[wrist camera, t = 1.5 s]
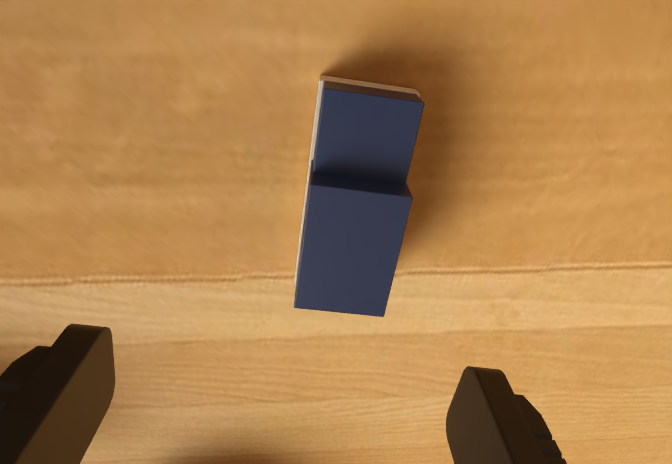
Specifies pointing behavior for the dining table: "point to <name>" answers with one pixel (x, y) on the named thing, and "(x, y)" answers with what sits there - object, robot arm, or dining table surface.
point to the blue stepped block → (355, 195)
